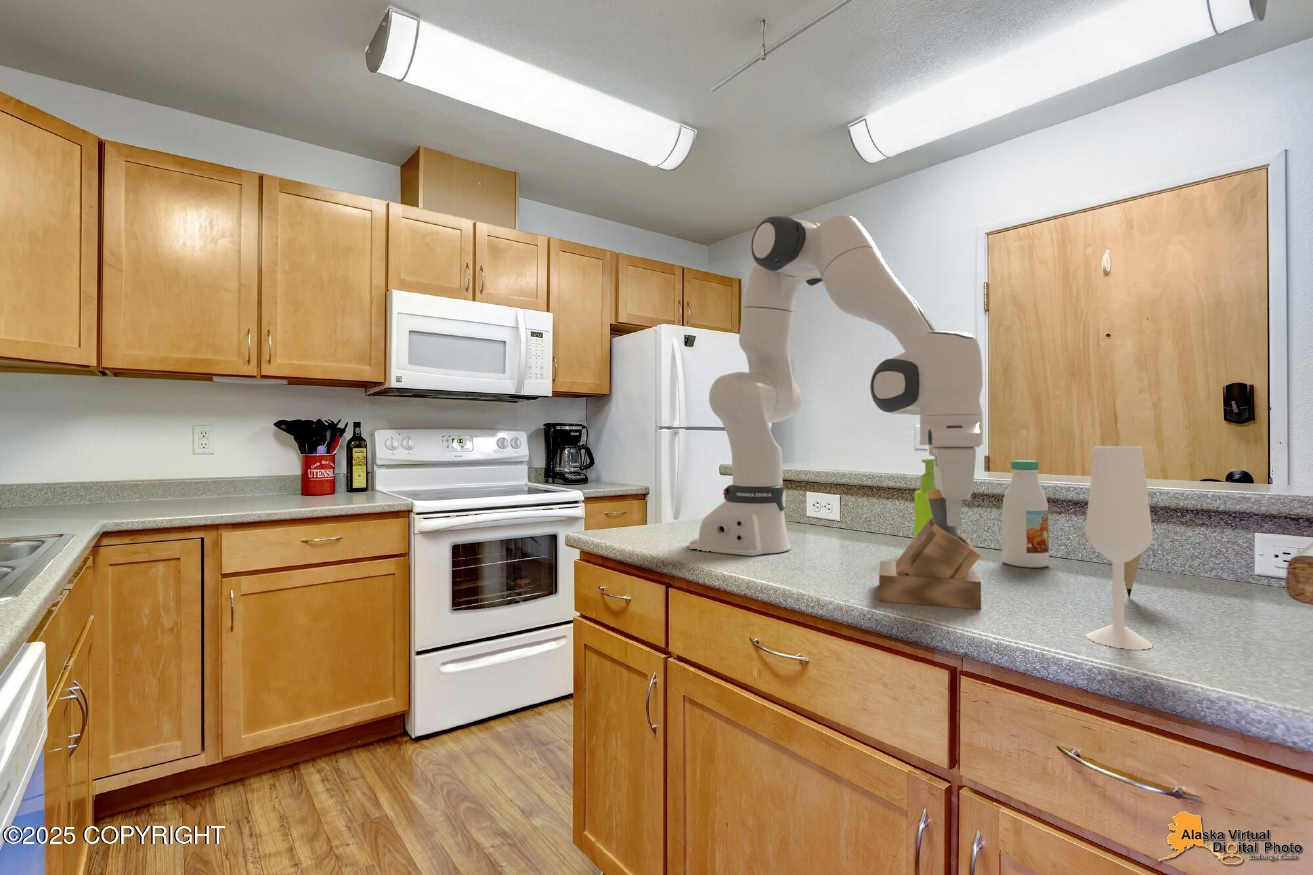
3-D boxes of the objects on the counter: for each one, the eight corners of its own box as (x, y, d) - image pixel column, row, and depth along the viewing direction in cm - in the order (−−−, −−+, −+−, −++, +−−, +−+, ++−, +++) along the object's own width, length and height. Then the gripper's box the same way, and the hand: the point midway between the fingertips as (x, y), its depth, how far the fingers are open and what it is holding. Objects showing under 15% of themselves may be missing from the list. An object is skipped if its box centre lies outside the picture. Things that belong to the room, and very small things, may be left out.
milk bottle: (1009, 567, 117) (1008, 461, 117) (997, 559, 125) (996, 459, 124) (1055, 569, 115) (1055, 461, 115) (1040, 560, 123) (1039, 459, 122)
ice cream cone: (1097, 595, 97) (1097, 499, 97) (1121, 591, 99) (1121, 497, 99) (1136, 604, 92) (1136, 503, 92) (1161, 600, 94) (1161, 501, 94)
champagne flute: (1093, 628, 82) (1093, 445, 81) (1158, 640, 77) (1158, 446, 76) (1078, 640, 77) (1077, 447, 77) (1146, 654, 72) (1145, 447, 72)
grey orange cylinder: (941, 556, 96) (926, 492, 97) (940, 552, 99) (925, 490, 100) (963, 553, 95) (948, 489, 96) (961, 549, 98) (946, 487, 99)
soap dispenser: (954, 557, 127) (953, 459, 126) (918, 556, 128) (917, 459, 128) (946, 552, 132) (946, 458, 132) (912, 551, 134) (911, 458, 133)
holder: (879, 601, 96) (878, 523, 96) (880, 584, 106) (879, 513, 106) (982, 609, 91) (981, 527, 91) (972, 590, 101) (972, 517, 101)
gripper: (925, 433, 108) (925, 513, 108) (932, 435, 89) (933, 532, 89) (965, 433, 105) (965, 514, 106) (982, 434, 86) (983, 534, 87)
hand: (951, 522), depth 97 cm, fingers open, 5 cm apart
